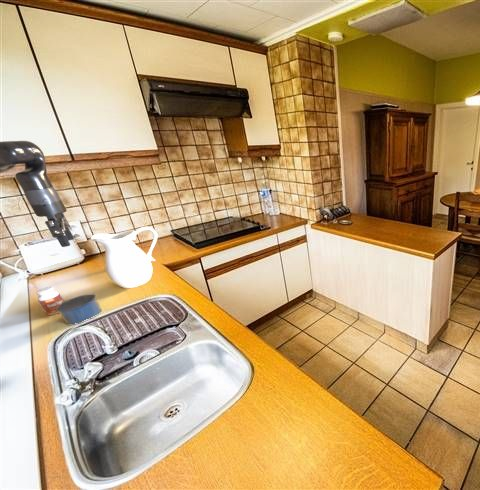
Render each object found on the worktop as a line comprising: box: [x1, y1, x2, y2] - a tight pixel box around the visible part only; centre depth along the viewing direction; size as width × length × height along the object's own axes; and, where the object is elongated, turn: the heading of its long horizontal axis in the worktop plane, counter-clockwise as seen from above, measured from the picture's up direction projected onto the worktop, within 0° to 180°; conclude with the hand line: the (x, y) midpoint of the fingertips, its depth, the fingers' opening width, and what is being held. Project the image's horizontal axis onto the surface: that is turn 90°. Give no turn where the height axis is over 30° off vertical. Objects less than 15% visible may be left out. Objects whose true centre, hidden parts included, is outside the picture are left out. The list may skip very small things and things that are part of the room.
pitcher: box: [89, 226, 159, 289], centre depth 133 cm, size 24×17×28 cm
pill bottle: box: [35, 286, 65, 316], centre depth 114 cm, size 6×6×11 cm
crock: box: [56, 293, 103, 325], centre depth 111 cm, size 12×12×7 cm
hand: (68, 243), depth 100 cm, fingers open, 8 cm apart
